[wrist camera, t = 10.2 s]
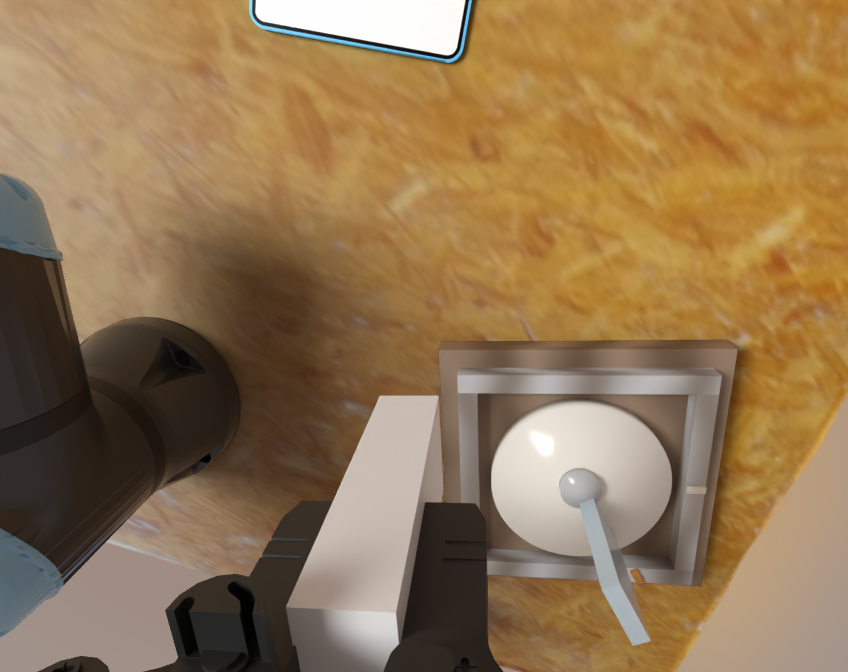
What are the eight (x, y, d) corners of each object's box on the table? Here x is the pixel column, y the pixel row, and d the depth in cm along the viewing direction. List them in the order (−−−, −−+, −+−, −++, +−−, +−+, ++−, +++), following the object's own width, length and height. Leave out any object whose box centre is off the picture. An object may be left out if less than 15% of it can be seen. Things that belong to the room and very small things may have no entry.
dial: (461, 439, 43) (453, 528, 32) (624, 369, 39) (672, 444, 29) (535, 564, 46) (548, 681, 35) (692, 510, 42) (758, 623, 32)
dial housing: (450, 557, 49) (446, 588, 46) (441, 341, 42) (436, 358, 39) (692, 569, 46) (709, 603, 43) (726, 339, 39) (749, 357, 36)
